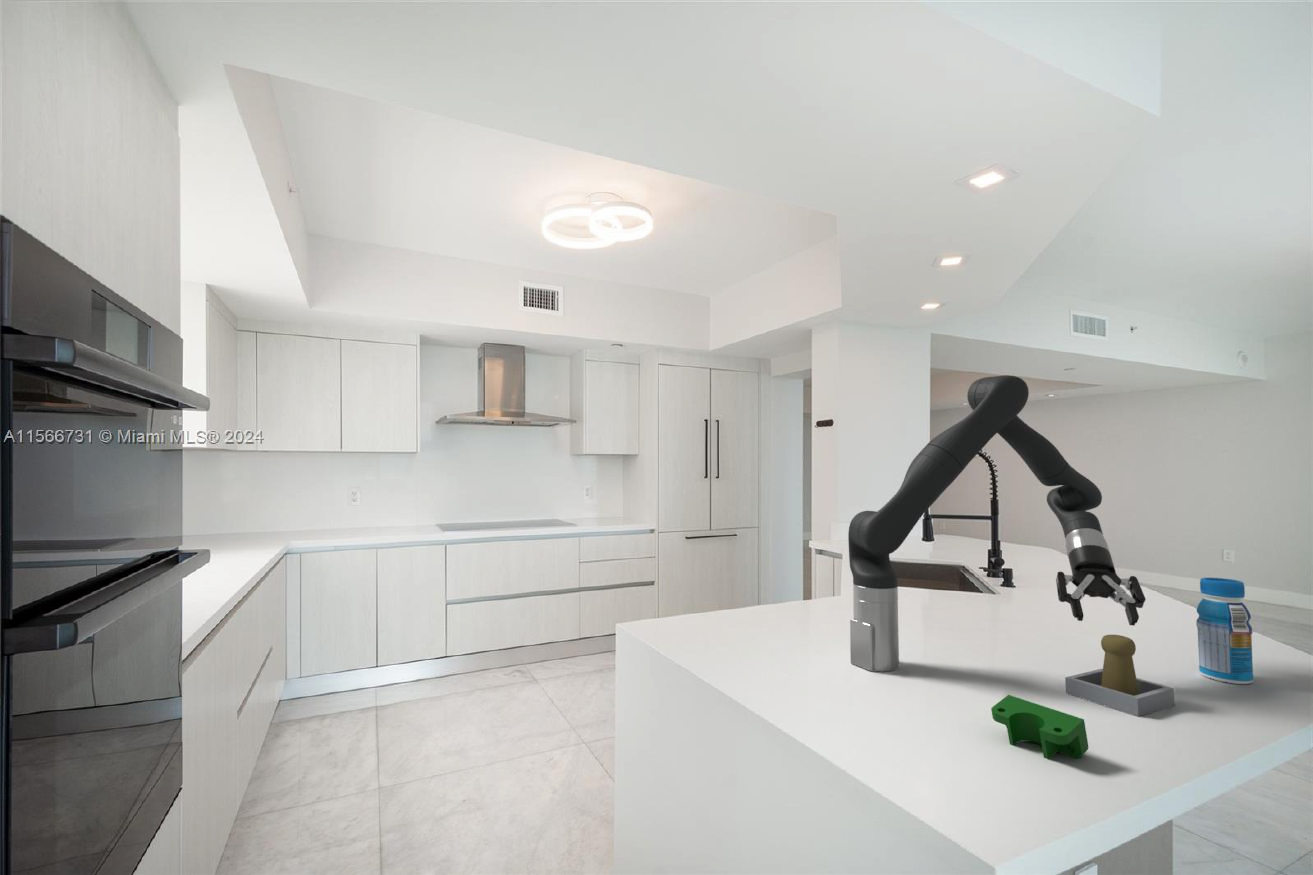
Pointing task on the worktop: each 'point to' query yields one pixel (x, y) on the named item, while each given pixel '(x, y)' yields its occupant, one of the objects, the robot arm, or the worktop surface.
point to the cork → (1119, 664)
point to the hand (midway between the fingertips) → (1106, 621)
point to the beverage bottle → (1224, 632)
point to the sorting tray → (1120, 694)
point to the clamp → (1041, 726)
